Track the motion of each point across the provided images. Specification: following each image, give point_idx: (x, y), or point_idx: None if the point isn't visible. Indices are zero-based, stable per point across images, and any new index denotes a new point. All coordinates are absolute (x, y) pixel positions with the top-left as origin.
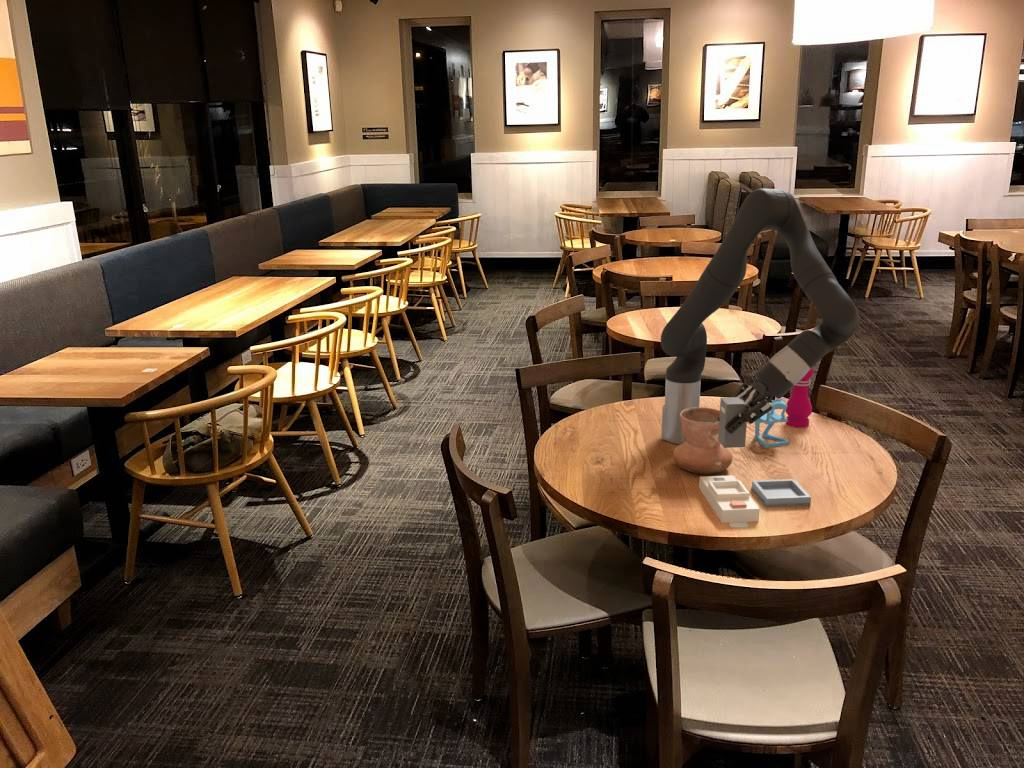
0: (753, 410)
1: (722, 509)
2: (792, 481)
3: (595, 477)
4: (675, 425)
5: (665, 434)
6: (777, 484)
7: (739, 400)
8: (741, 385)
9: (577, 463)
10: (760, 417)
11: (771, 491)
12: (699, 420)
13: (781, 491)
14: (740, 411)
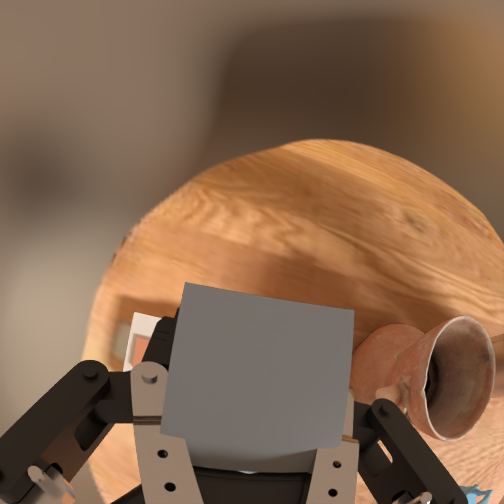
0: (35, 408)
1: (137, 313)
2: None
3: (361, 193)
4: None
5: None
6: None
7: (258, 432)
8: (458, 488)
9: (404, 193)
10: (467, 496)
11: (241, 471)
12: (469, 379)
13: None
14: (162, 390)
